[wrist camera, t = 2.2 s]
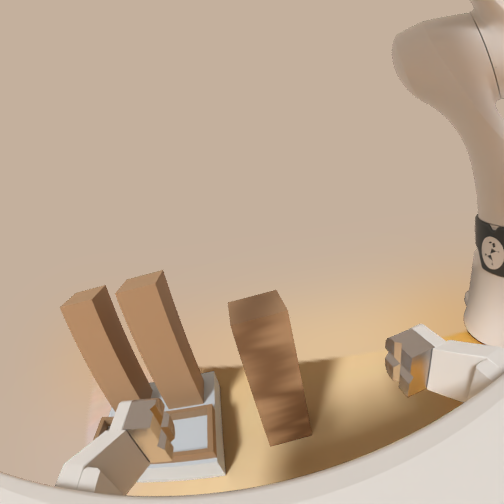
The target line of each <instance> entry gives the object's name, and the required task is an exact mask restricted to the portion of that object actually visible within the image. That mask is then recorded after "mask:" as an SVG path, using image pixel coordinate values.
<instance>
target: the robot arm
mask: <svg viewBox="0 0 504 504" xmlns="http://www.w3.org/2000/svg"><path fill="white" fill-rule="evenodd" d="M470 1H471V3H472V5H473V7H474V10H473V11H472V12H470V13H464V14H458V15H452V16H447V17H442V18H436V19H431V20H427V21H423V22H421V23H419V24H417V25H414V26H412V27H410V28H409V29H407V30H405V31H403V32H401V33H399V34H397V35H396V37H395V39H394V42H393V47H392V59H393V64H394V68H395V70H396V73H397V75H398V77H399V79H400V80H401V82H402V83H403V85H404V86H405V87H406V88H407V89H408V90H409V91H410V92H411V93H412V94H413V95H414V96H415V97H417V98H419V99H420V100H421V101H423V102H425V103H427V104H429V105H430V106H432V107H433V108H435V109H436V110H438V111H439V112H440V113H441V114H442V115H444V116H445V117H446V118H447V119H448V120H449V121H450V123H451V124H452V125H453V126H454V128H455V129H456V130H457V132H458V133H459V135H460V136H461V138H462V140H463V142H464V144H465V146H466V149H467V151H468V154H469V157H470V161H471V165H472V170H473V174H474V179H475V186H476V194H477V204H478V214H477V216H476V218H475V234H476V246H477V247H478V248H477V249H476V250H475V252H474V258H473V266H472V274H471V281H470V288H469V291H467V292H466V294H465V298H464V300H465V303H466V306H467V307H466V310H465V313H464V324H465V326H466V328H467V330H468V331H469V333H470V334H471V335H472V336H473V337H474V338H476V339H477V340H479V341H480V342H482V343H484V344H486V345H482V344H474V343H467V342H460V341H453V340H448V341H445V340H444V339H442V338H441V337H440V336H438V335H437V334H436V333H434V332H433V331H431V330H430V329H429V328H427V327H426V326H425V325H423V324H419V325H416V326H414V327H412V328H410V329H409V330H406V331H404V332H402V333H399V334H397V335H394V336H392V337H390V338H387V340H386V345H385V348H386V349H387V350H388V351H389V352H388V354H387V356H386V358H385V366H386V370H387V373H388V374H389V376H390V378H391V379H392V380H393V381H397V382H399V388H400V389H401V390H402V392H403V393H404V394H405V395H406V396H407V397H410V396H412V395H414V394H416V393H418V392H420V391H422V390H424V389H426V388H427V390H430V391H433V392H435V393H438V394H441V395H444V396H446V397H449V398H452V399H455V400H458V401H461V402H463V404H462V405H460V406H459V407H457V408H455V409H454V410H452V411H451V412H449V413H447V414H446V415H444V416H442V417H441V418H439V419H437V420H436V421H434V422H432V423H430V424H429V425H427V426H425V427H423V428H421V429H419V430H418V431H416V432H414V433H412V434H410V435H408V436H406V437H404V438H402V439H400V440H398V441H396V442H394V443H391V444H389V445H387V446H385V447H383V448H380V449H378V450H376V451H373V452H371V453H369V454H366V455H364V456H361V457H359V458H356V459H353V460H351V461H348V462H345V463H342V464H340V465H337V466H334V467H331V468H328V469H325V470H322V471H318V472H315V473H312V474H308V475H305V476H301V477H297V478H293V479H289V480H285V481H281V482H277V483H272V484H268V485H263V486H258V487H252V488H247V489H240V490H234V491H227V492H219V493H210V494H199V495H184V496H126V494H127V493H128V492H129V491H130V489H131V488H132V487H133V486H134V484H135V483H136V482H137V480H138V479H139V478H140V477H141V475H142V474H143V473H144V472H145V470H146V469H147V468H148V466H149V465H150V463H155V462H168V461H172V459H173V449H174V447H173V445H172V444H171V442H172V441H173V440H174V439H175V427H174V423H173V420H172V418H171V416H170V414H168V413H166V412H165V411H164V408H165V405H164V403H163V402H162V400H161V399H160V398H151V399H140V400H129V401H121V402H120V403H119V405H118V407H117V410H116V413H115V415H114V418H113V421H112V424H111V426H110V429H109V431H105V432H103V433H102V434H101V435H100V436H98V437H97V438H96V439H95V440H93V441H92V442H91V443H90V444H88V445H87V446H86V447H85V448H83V449H82V450H81V451H80V452H78V453H77V454H76V455H75V456H73V457H72V458H71V459H69V460H68V461H67V462H66V463H64V465H63V467H62V470H61V472H60V475H59V477H58V480H57V482H56V485H55V486H50V485H46V484H41V483H38V482H34V481H30V480H25V479H22V478H19V477H16V476H12V475H9V474H6V473H3V472H0V504H504V118H503V117H502V116H501V115H500V113H499V112H498V110H497V108H496V105H495V103H496V101H497V100H500V99H504V0H470Z"/></svg>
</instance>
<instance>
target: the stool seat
mask: <svg viewBox="0 0 504 504" xmlns="http://www.w3.org/2000/svg"><path fill="white" fill-rule="evenodd" d="M115 295H116V297H117V300H118V303H119V305H120V308H121V310H122V313H123V315H124V317H125V320H126V322H127V325H128V327H129V329H130V332H131V334H132V336H133V339H134V341H135V343H136V345H137V348H138V350H139V352H140V354H141V356H142V358H143V360H144V363H145V365H146V367H147V369H148V371H149V373H150V375H151V377H152V379H153V381H154V382H152V383H149V382H148V380H147V379H146V377H145V375H144V373H143V371H142V369H141V367H140V365H139V363H138V360H137V358H136V356H135V354H134V352H133V350H132V348H131V346H130V343H129V341H128V339H127V337H126V335H125V332H124V330H123V328H122V325H121V323H120V321H119V318H118V316H117V313H116V311H115V308H114V306H113V303H112V301H111V298H110V296H109V293H108V290H107V288H106V285H104V286H101V287H97V288H93V289H89V290H85V291H82V292H78V293H76V294H74V295H73V296H72V297H71V298H70V299H69V300H68V301H66V302H65V303H64V304H63V305H62V306H61V307H60V309H61V311H62V313H63V316H64V318H65V320H66V323H67V325H68V327H69V329H70V331H71V333H72V336H73V337H74V340H75V342H76V344H77V346H78V348H79V350H80V352H81V353H82V356H83V358H84V360H85V361H86V363H87V365H88V367H89V369H90V371H91V372H92V374H93V376H94V378H95V380H96V381H97V383H98V385H99V386H100V388H101V390H102V391H103V393H104V395H105V396H106V398H107V400H108V401H109V403H110V404H111V406H112V409H111V411H110V414H109V417H102V418H101V421H100V423H99V426H98V429H97V431H96V434H95V437H94V439H93V440H95V439H96V438H97V437H98V436H100V435H101V434H102V433H103V432H105V431H109V429H110V426H111V424H112V421H113V418H114V415H115V413H116V410H117V407H118V405H119V403H120V402H121V401H129V400H140V399H151V398H160V399H161V400H162V402H163V403H164V405H165V408H164V411H165V412H166V413H168V414H170V416H171V418H172V420H173V423H174V427H175V439H174V440H173V441H172V442H171V444H172V445H173V447H174V449H173V459H172V461H168V462H155V463H150V465H149V466H148V468H147V469H146V470H145V472H144V473H143V474H142V475H141V477H140V478H139V479H138V480H137V482H165V481H181V480H193V479H202V478H210V477H218V476H225V475H226V472H225V460H224V446H223V432H222V417H221V399H220V385H219V383H218V380H217V378H216V375H215V372H214V371H211V372H207V373H202V374H201V373H200V370H199V368H198V365H197V363H196V360H195V358H194V356H193V353H192V350H191V348H190V345H189V343H188V340H187V338H186V335H185V332H184V329H183V327H182V324H181V321H180V319H179V316H178V313H177V310H176V307H175V305H174V302H173V299H172V296H171V293H170V290H169V287H168V284H167V281H166V278H165V275H164V272H163V270H161V271H157V272H154V273H150V274H146V275H142V276H139V277H135V278H131V279H127V280H126V281H125V283H124V284H123V285H122V286H121V287H120V288H119V290H118V291H117V292H116V293H115Z"/></svg>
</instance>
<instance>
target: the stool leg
mask: <svg viewBox="0 0 504 504" xmlns="http://www.w3.org/2000/svg"><path fill="white" fill-rule="evenodd" d="M228 308H229V316H230V325H231V328H232V332H233V335H234V338H235V341H236V345H237V348H238V351H239V354H240V357H241V360H242V364H243V367H244V370H245V373H246V376H247V379H248V382H249V385H250V388H251V391H252V394H253V397H254V400H255V403H256V406H257V409H258V412H259V415H260V418H261V421H262V424H263V426H264V429H265V432H266V435H267V438H268V441H269V443H270V446H274V445H278V444H282V443H286V442H289V441H293V440H296V439H300V438H303V437H307V436H310V435H312V433H311V428H310V422H309V417H308V411H307V406H306V401H305V395H304V390H303V385H302V380H301V374H300V369H299V364H298V359H297V354H296V349H295V344H294V339H293V334H292V329H291V324H290V320H289V314H288V310H287V308H286V307H285V305H284V303H283V301H282V300H281V298H280V296H279V294H278V292H277V291H276V290H274V291H271V292H267V293H263V294H260V295H255V296H252V297H248V298H244V299H240V300H236V301H232V302H228Z"/></svg>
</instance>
